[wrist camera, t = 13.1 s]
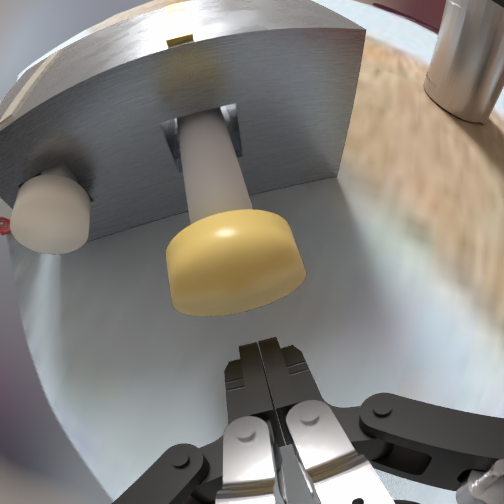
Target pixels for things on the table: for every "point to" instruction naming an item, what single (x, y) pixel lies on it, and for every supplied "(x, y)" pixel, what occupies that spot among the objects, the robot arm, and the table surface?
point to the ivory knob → (51, 212)
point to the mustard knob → (225, 231)
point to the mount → (185, 103)
